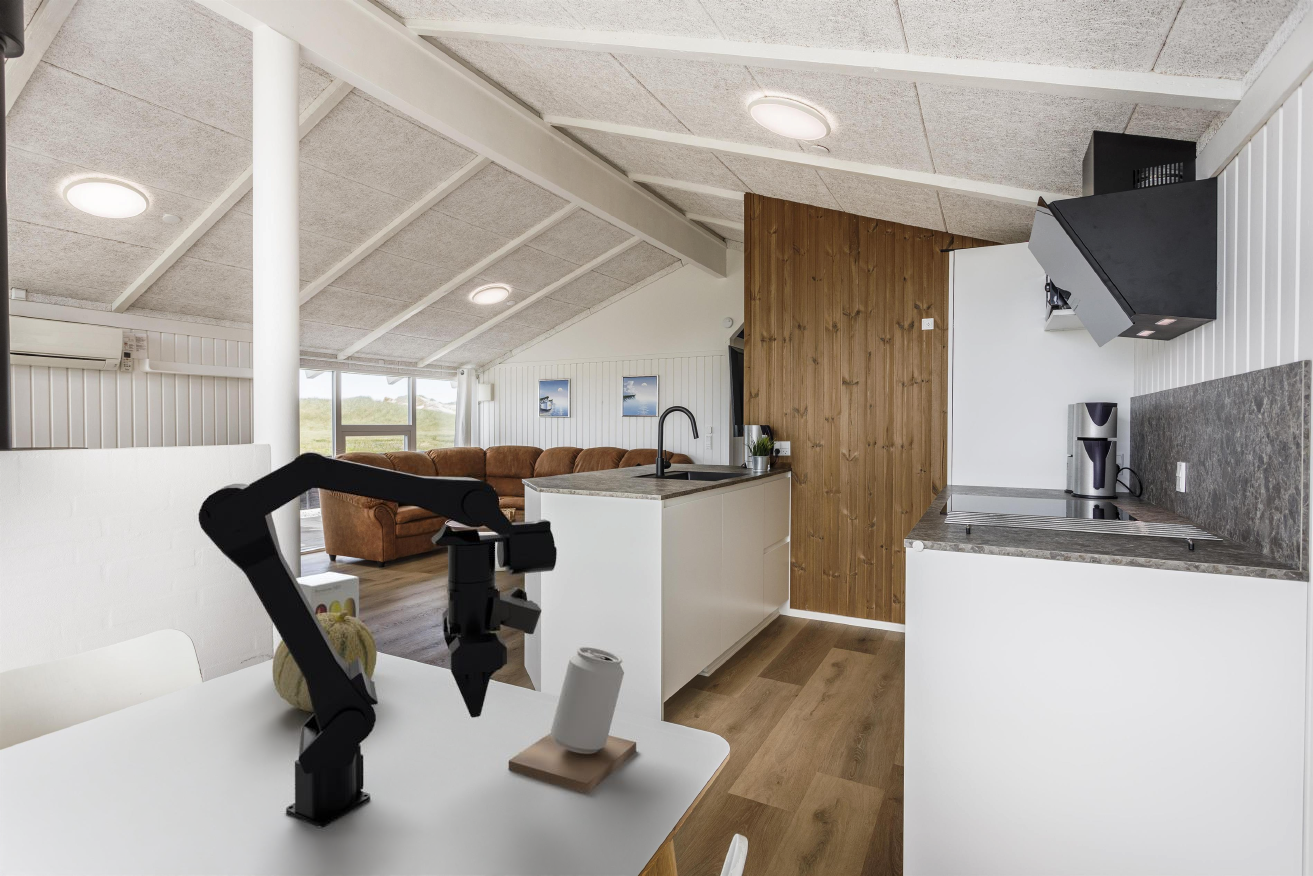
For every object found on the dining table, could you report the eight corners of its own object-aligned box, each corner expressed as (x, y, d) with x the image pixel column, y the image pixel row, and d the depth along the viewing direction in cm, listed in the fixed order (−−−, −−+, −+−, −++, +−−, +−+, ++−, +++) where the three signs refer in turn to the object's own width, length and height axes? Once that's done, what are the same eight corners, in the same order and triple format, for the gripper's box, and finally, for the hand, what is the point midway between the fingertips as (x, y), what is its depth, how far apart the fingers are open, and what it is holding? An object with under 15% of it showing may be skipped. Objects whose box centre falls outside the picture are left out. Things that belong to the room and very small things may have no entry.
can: (610, 759, 84) (634, 665, 86) (554, 752, 82) (580, 655, 83) (596, 736, 91) (618, 650, 93) (544, 729, 89) (567, 640, 90)
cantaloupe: (277, 697, 107) (276, 605, 107) (375, 683, 113) (375, 596, 113) (266, 736, 94) (266, 631, 93) (378, 717, 100) (378, 618, 100)
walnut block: (587, 800, 79) (587, 783, 79) (508, 776, 84) (508, 760, 84) (636, 757, 89) (636, 742, 89) (563, 738, 95) (563, 724, 95)
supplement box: (310, 684, 113) (309, 586, 112) (280, 674, 117) (279, 580, 117) (361, 667, 121) (360, 575, 121) (330, 658, 126) (330, 570, 125)
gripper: (550, 589, 77) (550, 722, 77) (523, 560, 94) (523, 668, 95) (451, 598, 73) (451, 738, 73) (442, 566, 90) (442, 679, 91)
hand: (471, 701), depth 83 cm, fingers open, 9 cm apart
